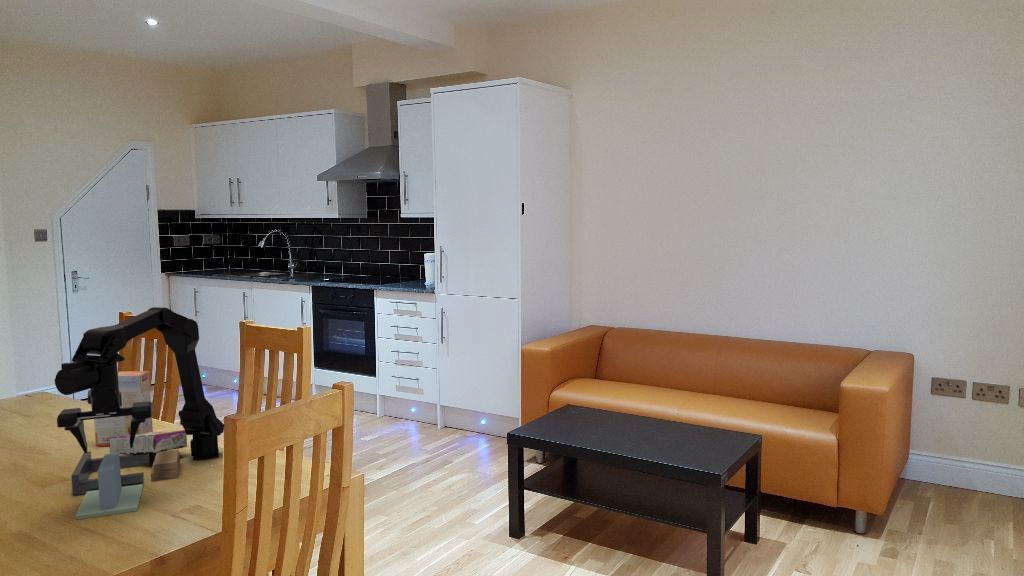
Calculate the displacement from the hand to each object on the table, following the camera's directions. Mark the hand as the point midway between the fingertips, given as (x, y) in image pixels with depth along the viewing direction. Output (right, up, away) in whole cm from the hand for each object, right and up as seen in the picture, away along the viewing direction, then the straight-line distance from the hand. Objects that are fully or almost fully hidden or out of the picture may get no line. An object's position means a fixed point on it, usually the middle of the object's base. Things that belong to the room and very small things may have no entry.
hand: (109, 450), depth 166 cm
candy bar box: (-14, -6, +33) cm, 36 cm away
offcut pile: (+3, -10, +20) cm, 23 cm away
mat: (0, -12, +1) cm, 12 cm away
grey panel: (0, -12, +1) cm, 12 cm away
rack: (-8, -11, +16) cm, 21 cm away
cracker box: (-20, -8, +43) cm, 48 cm away
